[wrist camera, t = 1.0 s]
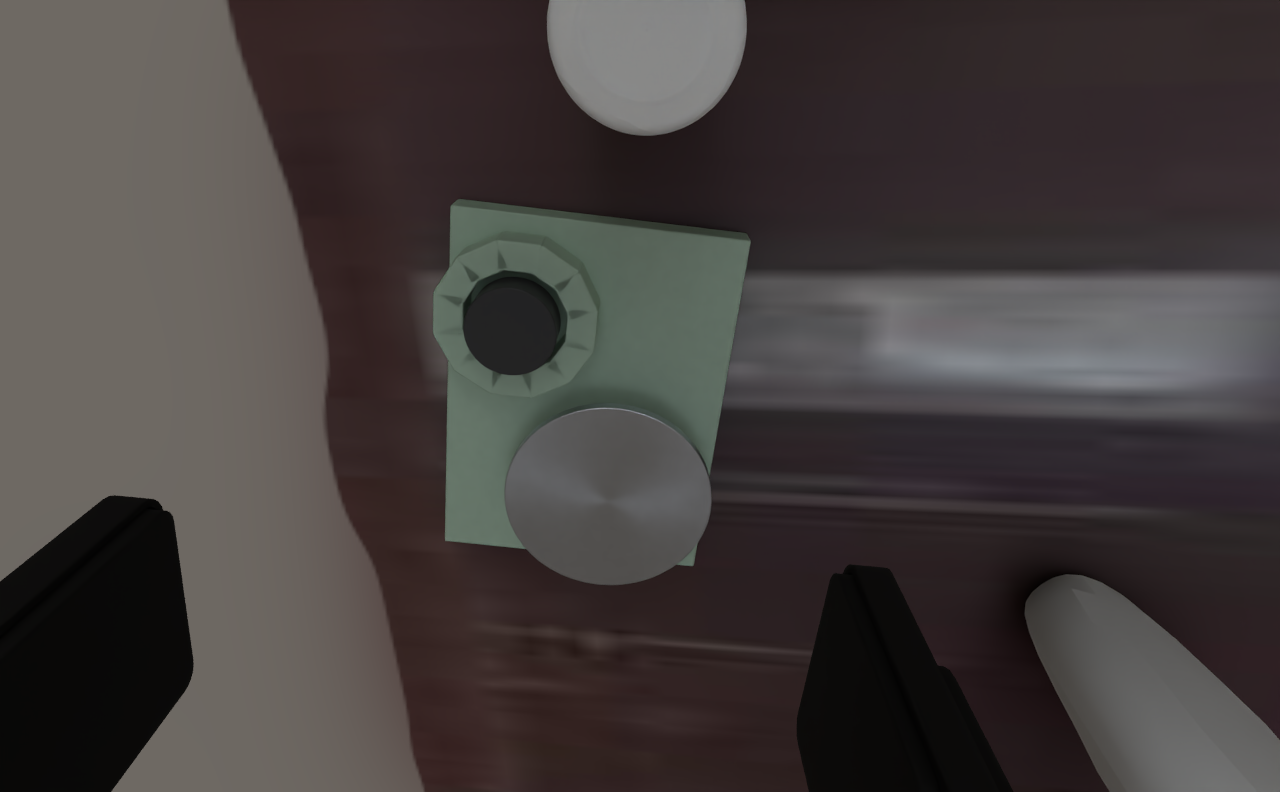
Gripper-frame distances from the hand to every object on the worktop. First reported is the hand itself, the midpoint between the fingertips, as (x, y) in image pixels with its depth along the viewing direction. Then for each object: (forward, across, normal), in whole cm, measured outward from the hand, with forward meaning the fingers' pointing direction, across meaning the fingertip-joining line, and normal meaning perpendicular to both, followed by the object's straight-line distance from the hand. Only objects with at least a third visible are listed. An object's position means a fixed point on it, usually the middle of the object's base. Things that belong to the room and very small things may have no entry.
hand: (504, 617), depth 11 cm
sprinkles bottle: (+24, -1, -9) cm, 25 cm away
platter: (+21, -2, +10) cm, 23 cm away
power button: (+21, +3, +2) cm, 22 cm away
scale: (+24, 0, +6) cm, 25 cm away
